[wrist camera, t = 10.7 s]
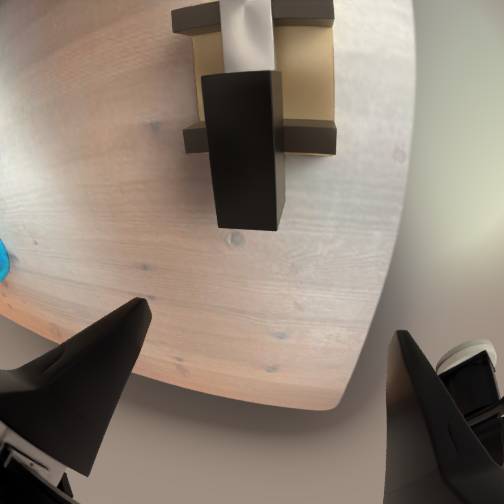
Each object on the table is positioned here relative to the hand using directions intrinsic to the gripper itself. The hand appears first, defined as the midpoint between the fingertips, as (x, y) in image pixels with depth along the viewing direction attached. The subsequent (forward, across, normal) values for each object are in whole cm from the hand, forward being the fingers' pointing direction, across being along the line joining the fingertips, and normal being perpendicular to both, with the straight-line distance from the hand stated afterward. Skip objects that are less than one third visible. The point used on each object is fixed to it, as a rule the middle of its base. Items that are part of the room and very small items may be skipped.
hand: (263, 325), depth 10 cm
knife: (+8, +2, -8) cm, 11 cm away
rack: (+11, +2, -8) cm, 14 cm away
